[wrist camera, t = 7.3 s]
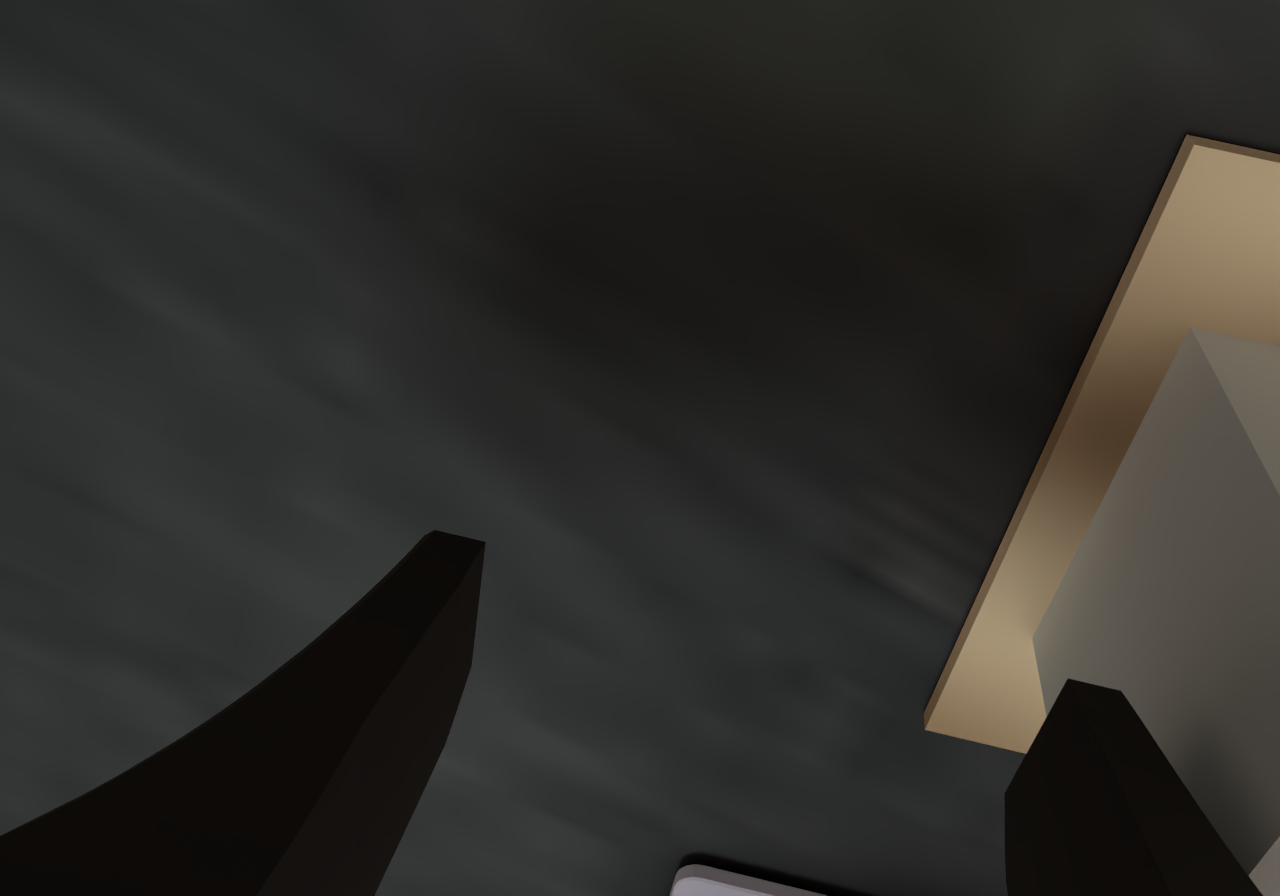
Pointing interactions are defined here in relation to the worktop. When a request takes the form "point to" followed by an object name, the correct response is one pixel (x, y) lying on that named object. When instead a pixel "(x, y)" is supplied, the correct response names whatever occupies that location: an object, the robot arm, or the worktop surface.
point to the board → (1115, 418)
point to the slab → (1192, 590)
